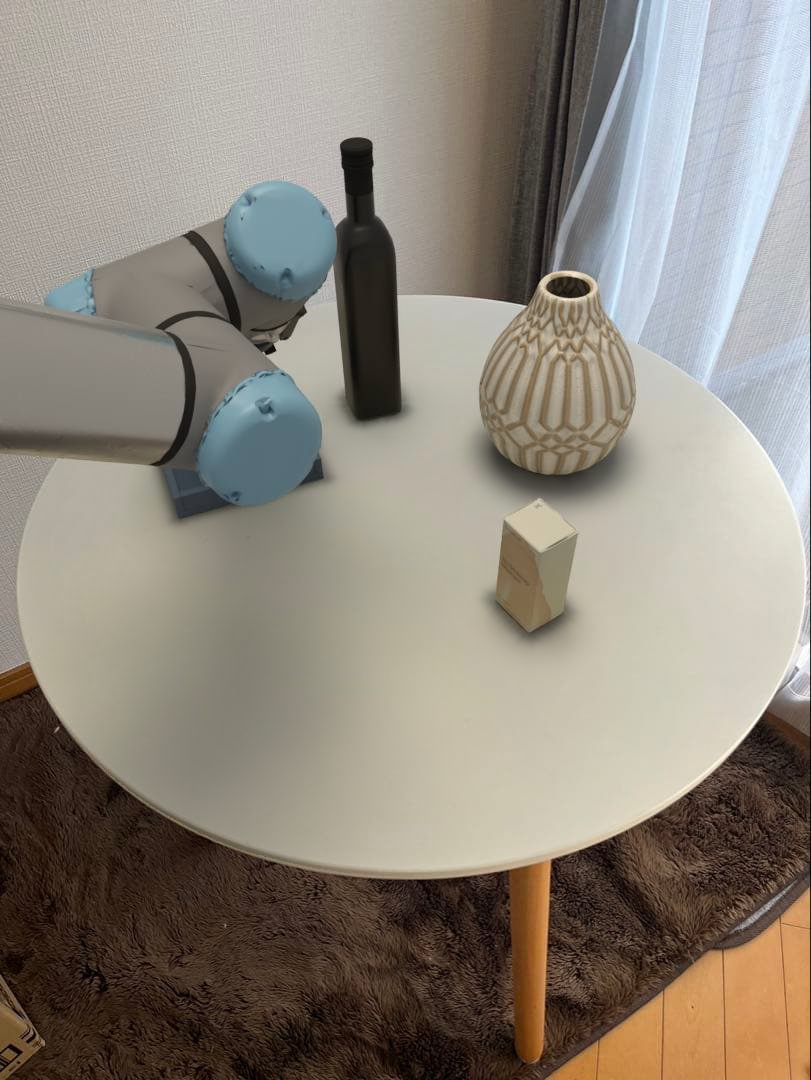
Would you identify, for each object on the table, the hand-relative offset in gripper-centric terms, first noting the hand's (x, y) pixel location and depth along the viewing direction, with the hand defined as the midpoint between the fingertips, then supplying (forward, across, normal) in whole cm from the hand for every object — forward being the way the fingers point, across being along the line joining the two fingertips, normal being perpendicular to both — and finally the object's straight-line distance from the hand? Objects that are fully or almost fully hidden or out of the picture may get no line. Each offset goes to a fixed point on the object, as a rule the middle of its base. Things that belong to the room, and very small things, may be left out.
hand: (207, 367), depth 94 cm
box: (-20, +14, -34) cm, 42 cm away
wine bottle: (+4, +17, -10) cm, 20 cm away
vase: (-9, +29, -22) cm, 38 cm away
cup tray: (+4, 0, -9) cm, 10 cm away
